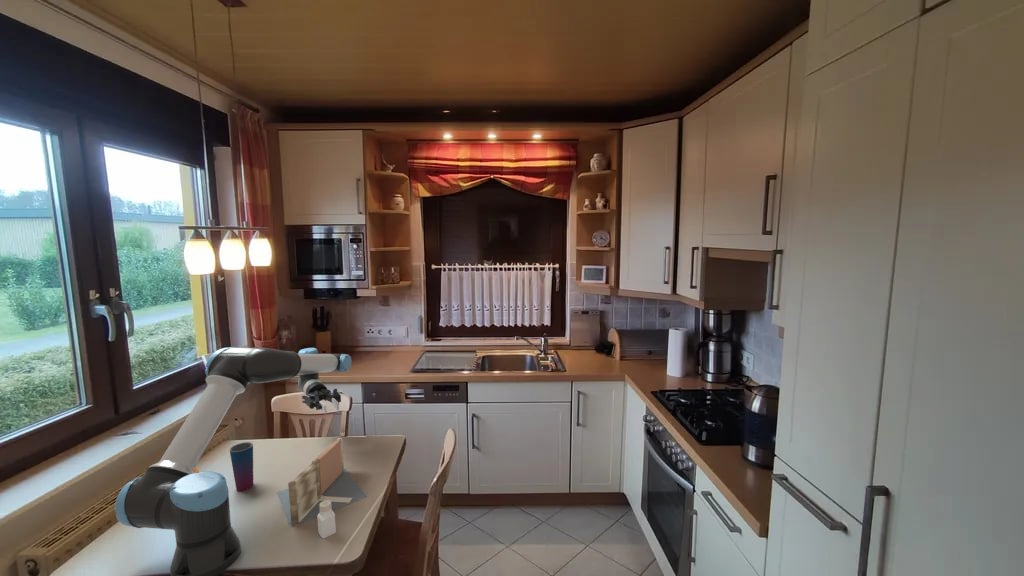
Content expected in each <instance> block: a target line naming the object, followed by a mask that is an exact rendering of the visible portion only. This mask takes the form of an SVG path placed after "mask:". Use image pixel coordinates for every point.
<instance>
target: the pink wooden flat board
mask: <svg viewBox="0 0 1024 576" xmlns="http://www.w3.org/2000/svg"><path fill="white" fill-rule="evenodd" d="M343 446H344V445H343V438H342V437H338V438H336V440H334V442H332V443H331V444H330V445H329V446H328V447H327V448H326V449H324V450H323V452H321V453H320V454H319V455H318V456H317V457H316V458H315V460H318V461H319V475H320V490H321V495H322V494H323V493H324V492H325V490H326V489H327V488H328V487H329V486H330V485H331V484H332V483H333V482H334V481H335V480H336V479H337V477H338V476H339V475H340V474H341V473H342V472H344V469H345V462H344V447H343Z"/></svg>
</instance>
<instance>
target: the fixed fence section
mask: <svg viewBox="0 0 1024 576" xmlns="http://www.w3.org/2000/svg"><path fill="white" fill-rule="evenodd" d="M287 487H288V488H287V489H289V501H290V514H291V525H294V526H296V524H297V525H299V524H300V523H299V520H300V519H301V518H302V517H303V516H304V515H305V513H306V512H307V511H308V510H309V509H310V508H311V507H312V506H313V505H314V504H315V503H316V501H317V500H319V499H320V498H321V490H320V475H319V461H318V460H312V461H311V463H310V464H309V465H308V466H307V467H305V469H303V470H302V471H301V472H300V473H299V474H297V476H296V477H295V478H294V479H293V480H291V481H289V482H288V484H287ZM298 523H299V524H298Z"/></svg>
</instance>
